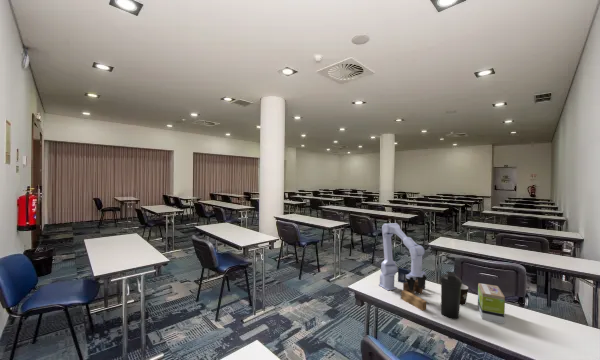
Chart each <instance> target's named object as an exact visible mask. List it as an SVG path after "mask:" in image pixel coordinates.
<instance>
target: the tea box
mask: <svg viewBox="0 0 600 360" xmlns="http://www.w3.org/2000/svg"><path fill="white" fill-rule="evenodd" d="M503 293H504V292H502V290H501V289H500V287H499V286H498V285H495V284H494V285H493V284H489V283H488V284H487V283H480V282H478V284H477V309H478V311H479V314H480V317H481V319H482V320H485V321H489V322H494V323H497V324H505V309H506V308H505V307H506V306H505V305H506V304H505V303H506V297H505V295H504V294H503Z"/></svg>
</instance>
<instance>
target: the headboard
mask: <svg viewBox="0 0 600 360" xmlns="http://www.w3.org/2000/svg"><path fill="white" fill-rule="evenodd" d="M402 285H403V287H402V290H406V291H408V292H410V293H412V294H414V295H415V296H416V293H418V295H422V294H424V292H423V291H424V290H423V287H422V288H419V287H418V280H415V283H414V287H413V291H411V290H409V286H408V282H406V283H402Z"/></svg>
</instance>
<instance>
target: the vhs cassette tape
mask: <svg viewBox="0 0 600 360" xmlns="http://www.w3.org/2000/svg"><path fill="white" fill-rule="evenodd" d="M409 273H411V269H408V268H404V267H400V266H399V267H397V282H399V283H402V284H403V283H406V282H407V280H406V275H407V274H409ZM413 280H418V278H417V277H414V278H413ZM425 289H426V281H425V282H424V284H423V291H424V290H425Z"/></svg>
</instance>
